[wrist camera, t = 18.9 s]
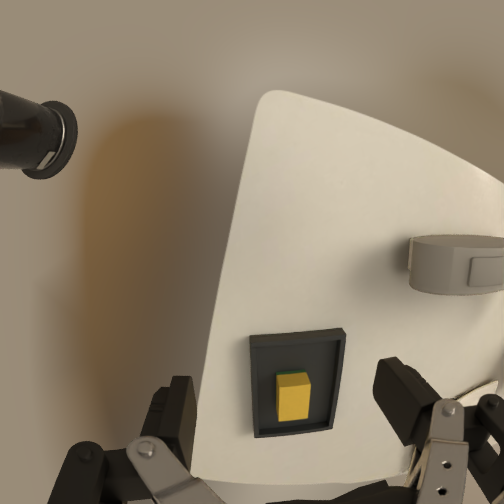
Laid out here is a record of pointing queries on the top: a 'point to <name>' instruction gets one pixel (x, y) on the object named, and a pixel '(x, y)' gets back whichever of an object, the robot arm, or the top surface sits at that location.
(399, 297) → the top surface
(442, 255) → the alarm clock
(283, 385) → the sponge
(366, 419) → the top surface
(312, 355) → the tray
